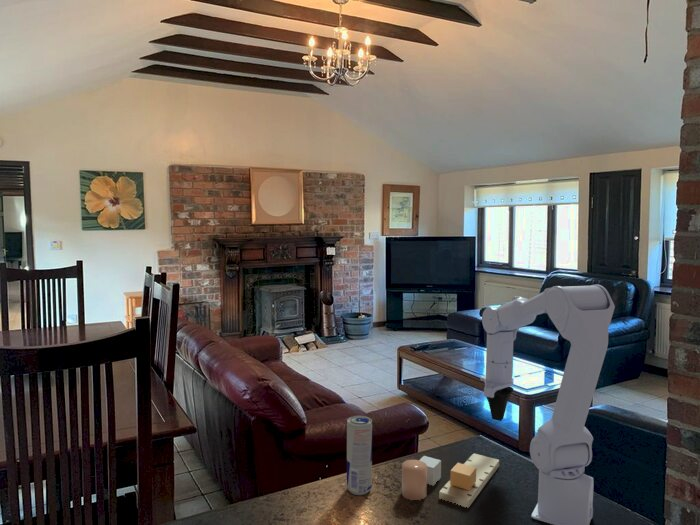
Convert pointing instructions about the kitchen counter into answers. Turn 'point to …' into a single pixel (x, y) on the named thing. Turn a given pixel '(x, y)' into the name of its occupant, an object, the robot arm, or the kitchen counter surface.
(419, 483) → the tan rounded cylinder
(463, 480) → the tan square block
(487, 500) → the kitchen counter surface
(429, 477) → the grey block
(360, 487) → the beverage can
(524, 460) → the kitchen counter surface
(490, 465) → the counting board
